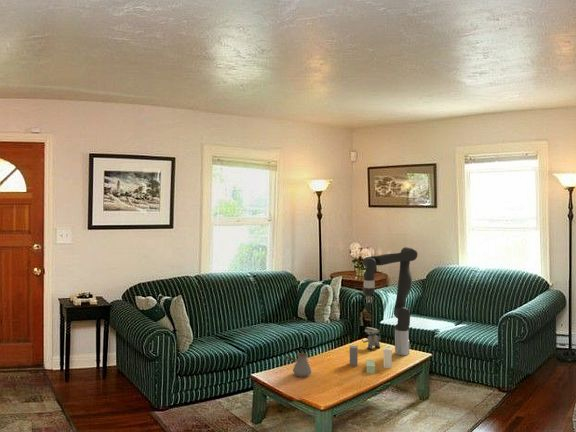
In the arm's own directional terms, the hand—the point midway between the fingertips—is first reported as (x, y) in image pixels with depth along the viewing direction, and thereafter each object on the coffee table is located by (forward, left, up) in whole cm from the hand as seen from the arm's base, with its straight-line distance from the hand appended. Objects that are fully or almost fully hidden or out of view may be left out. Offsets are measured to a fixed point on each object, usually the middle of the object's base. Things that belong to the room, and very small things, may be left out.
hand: (368, 311), depth 346 cm
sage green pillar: (+11, +16, -30) cm, 35 cm away
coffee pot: (+62, +10, -32) cm, 71 cm away
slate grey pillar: (+18, +7, -32) cm, 37 cm away
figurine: (-15, -16, -32) cm, 39 cm away
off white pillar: (0, +21, -32) cm, 38 cm away
